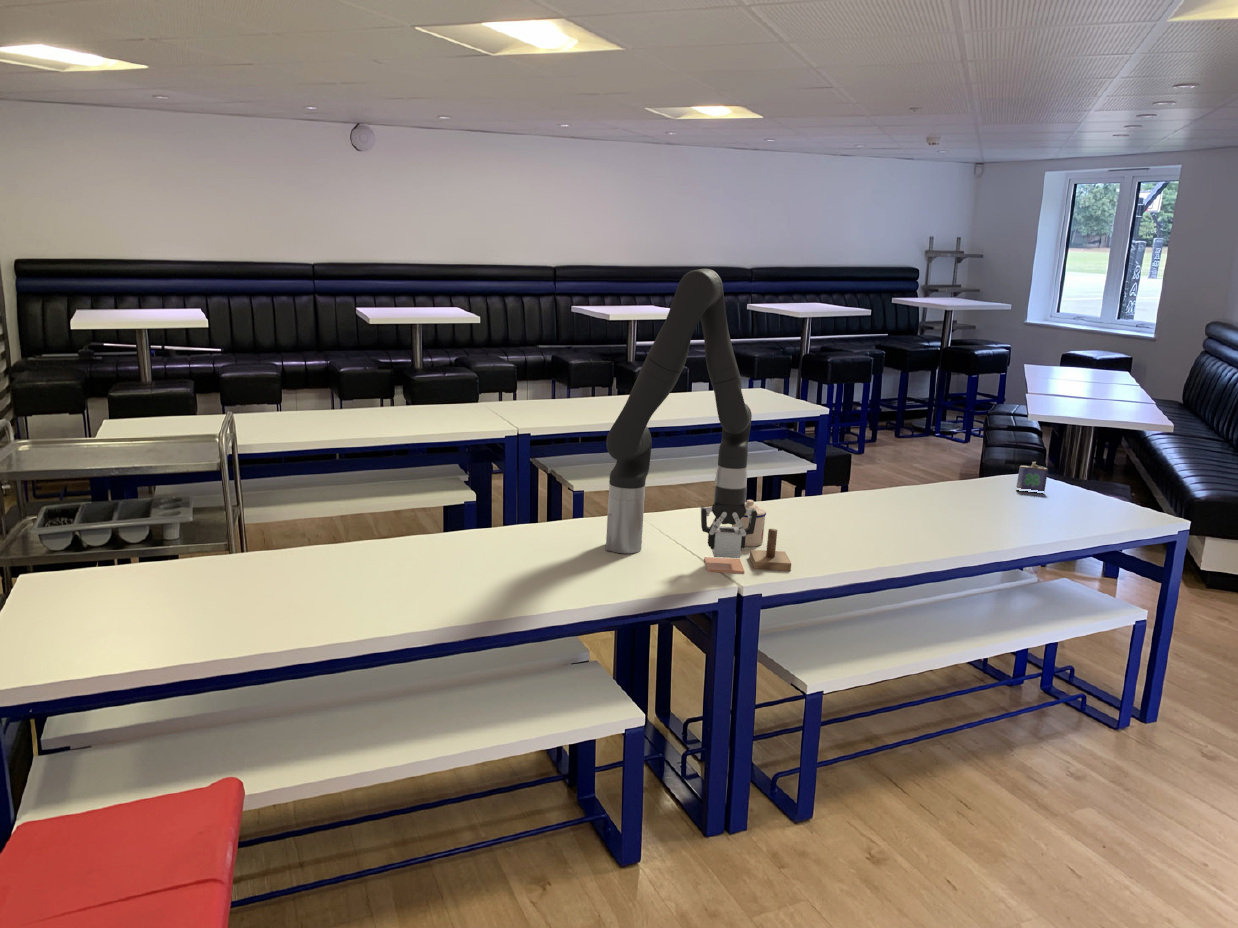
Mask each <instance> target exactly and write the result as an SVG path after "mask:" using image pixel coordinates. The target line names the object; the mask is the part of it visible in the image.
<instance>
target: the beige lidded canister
mask: <svg viewBox="0 0 1238 928" xmlns="http://www.w3.org/2000/svg"><path fill="white" fill-rule="evenodd" d="M745 508H746V509H753V508H754V509H756V511H757V518H756V523H755V528H754V533H753V534H748V535H746V537H745V547H750V548H751V547H758V546H759V547H760V546H761V545H762V544H763V542H764V533H765V523H766V522H765V521H766V515H767V511H766V509H765V508H763V507H761V506H759V505H758V504H755V501H754V500H753V499H747V500H745ZM749 519H750V518H749V517H748V514H747V513H746V514H745V515H744V516H743V517H742V518H741V519H740V521H741V523H742V525H743V527H744V529H746V528H748V524H749ZM731 527H738V526H737V524H735V525H731Z"/></svg>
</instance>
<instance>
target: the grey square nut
mask: <svg viewBox="0 0 1238 928" xmlns="http://www.w3.org/2000/svg"><path fill="white" fill-rule="evenodd" d="M741 539H742V534H741V532H740V530H739V528H738V527H732V526H726V525H724V526H723V525H720V526H719V527H718V528H717V530H716V531H715V533H714V548H713V549H711V551H712V552H711V553H712V555H713V558H732V559H741V552H742V550H741Z"/></svg>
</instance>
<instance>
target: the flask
mask: <svg viewBox="0 0 1238 928" xmlns="http://www.w3.org/2000/svg"><path fill="white" fill-rule="evenodd" d="M1031 463H1032V464H1031V465H1020V466H1019V469H1018V475H1017V480H1016V481H1017V482H1016V487H1017V488H1021V489H1031V490H1038V491H1044V492H1045V491H1046V490H1045V489H1046V484H1047V478H1048V472H1049V469H1048V468H1047V467H1045V466H1042V465H1038V464H1036V463H1037V461H1032V462H1031Z"/></svg>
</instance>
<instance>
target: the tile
mask: <svg viewBox="0 0 1238 928" xmlns="http://www.w3.org/2000/svg"><path fill="white" fill-rule="evenodd" d="M703 558H704V565H705V568H706V571H707V572H709V573H724V574H725V573H727V574H729V573H730V574H745V569H744V566H743V563H742V560H741V558H723V557H711V556H710V557H709V556H708V557H707V556H704V557H703Z"/></svg>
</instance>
